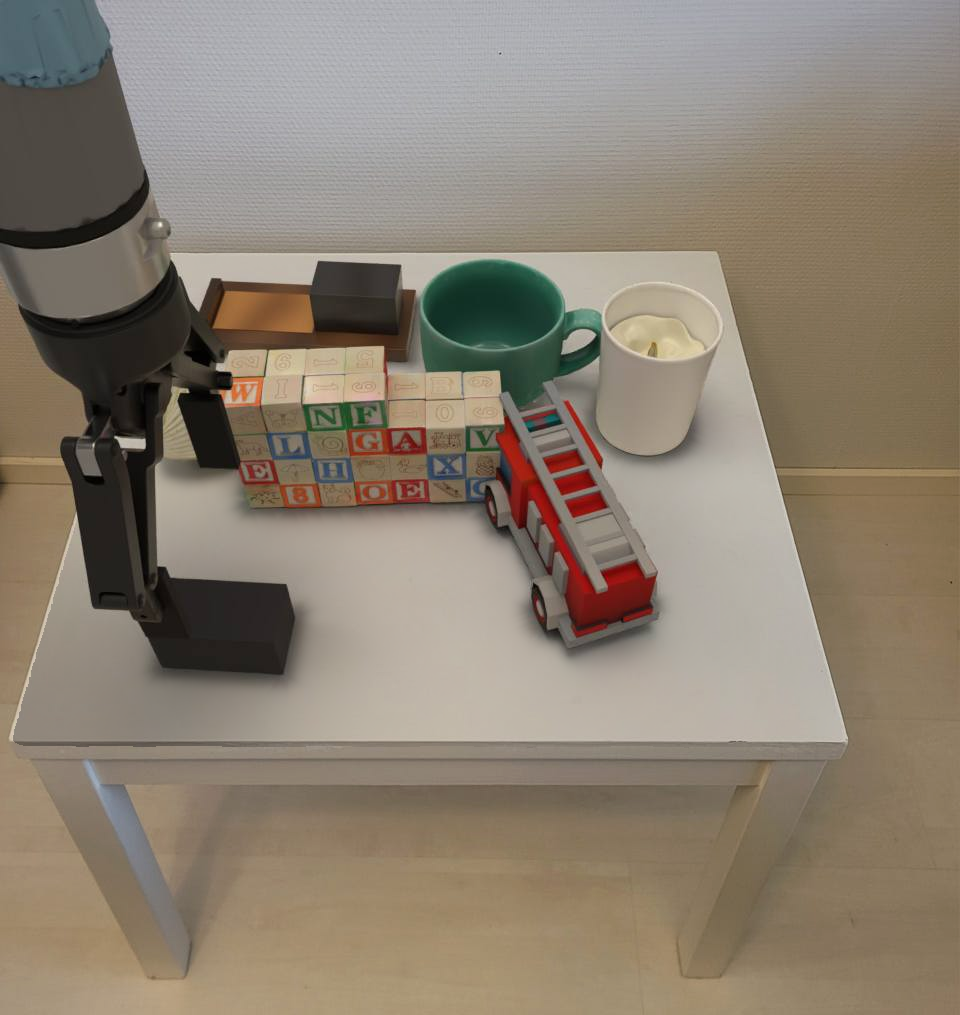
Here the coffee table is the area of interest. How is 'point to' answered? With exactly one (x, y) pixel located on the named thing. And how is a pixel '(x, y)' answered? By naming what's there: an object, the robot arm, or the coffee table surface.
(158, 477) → the coffee table surface
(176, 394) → the seashell
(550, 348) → the mug
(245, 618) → the black block
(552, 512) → the toy fire truck
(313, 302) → the brown wooden tray
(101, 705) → the coffee table surface
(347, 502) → the stack of blocks
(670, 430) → the candle holder
